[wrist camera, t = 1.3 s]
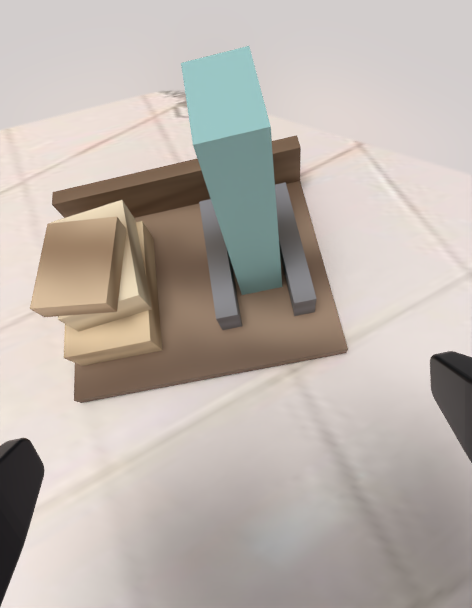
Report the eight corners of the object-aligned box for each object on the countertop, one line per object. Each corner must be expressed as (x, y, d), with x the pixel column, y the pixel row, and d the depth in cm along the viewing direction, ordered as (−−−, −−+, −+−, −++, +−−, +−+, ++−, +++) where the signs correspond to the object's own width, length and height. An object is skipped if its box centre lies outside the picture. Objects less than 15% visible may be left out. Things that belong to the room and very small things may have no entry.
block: (282, 286, 23) (270, 126, 12) (241, 294, 23) (193, 144, 12) (269, 232, 24) (248, 45, 13) (232, 240, 24) (181, 63, 14)
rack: (346, 352, 21) (363, 316, 16) (81, 402, 23) (12, 384, 17) (296, 177, 27) (297, 104, 21) (82, 225, 28) (30, 168, 22)
